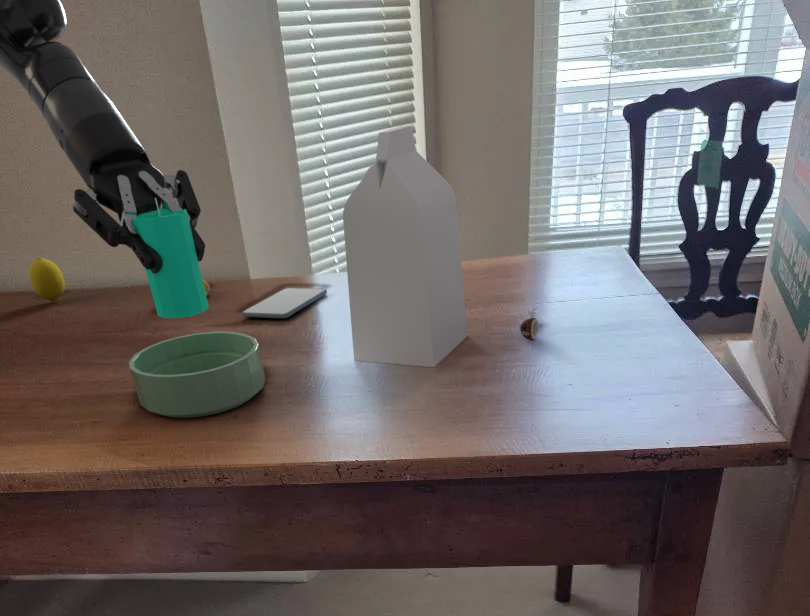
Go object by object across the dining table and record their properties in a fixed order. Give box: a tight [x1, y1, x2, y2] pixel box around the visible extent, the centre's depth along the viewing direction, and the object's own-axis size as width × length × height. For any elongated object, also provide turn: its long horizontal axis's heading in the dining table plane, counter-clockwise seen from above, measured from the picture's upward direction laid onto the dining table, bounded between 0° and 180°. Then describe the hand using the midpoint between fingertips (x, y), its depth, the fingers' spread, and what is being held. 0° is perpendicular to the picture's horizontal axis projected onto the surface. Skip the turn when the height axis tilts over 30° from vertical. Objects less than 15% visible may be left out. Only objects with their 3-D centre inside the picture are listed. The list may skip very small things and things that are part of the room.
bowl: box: [128, 331, 266, 419], centre depth 89 cm, size 15×15×6 cm
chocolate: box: [520, 308, 540, 341], centre depth 97 cm, size 3×2×4 cm
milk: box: [342, 125, 469, 368], centre depth 92 cm, size 12×12×26 cm
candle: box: [132, 198, 210, 319], centre depth 81 cm, size 6×6×12 cm
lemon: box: [28, 256, 66, 303], centre depth 133 cm, size 6×6×8 cm
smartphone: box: [241, 287, 328, 319], centre depth 120 cm, size 8×1×15 cm
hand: (179, 261), depth 80 cm, fingers closed on candle, 4 cm apart
